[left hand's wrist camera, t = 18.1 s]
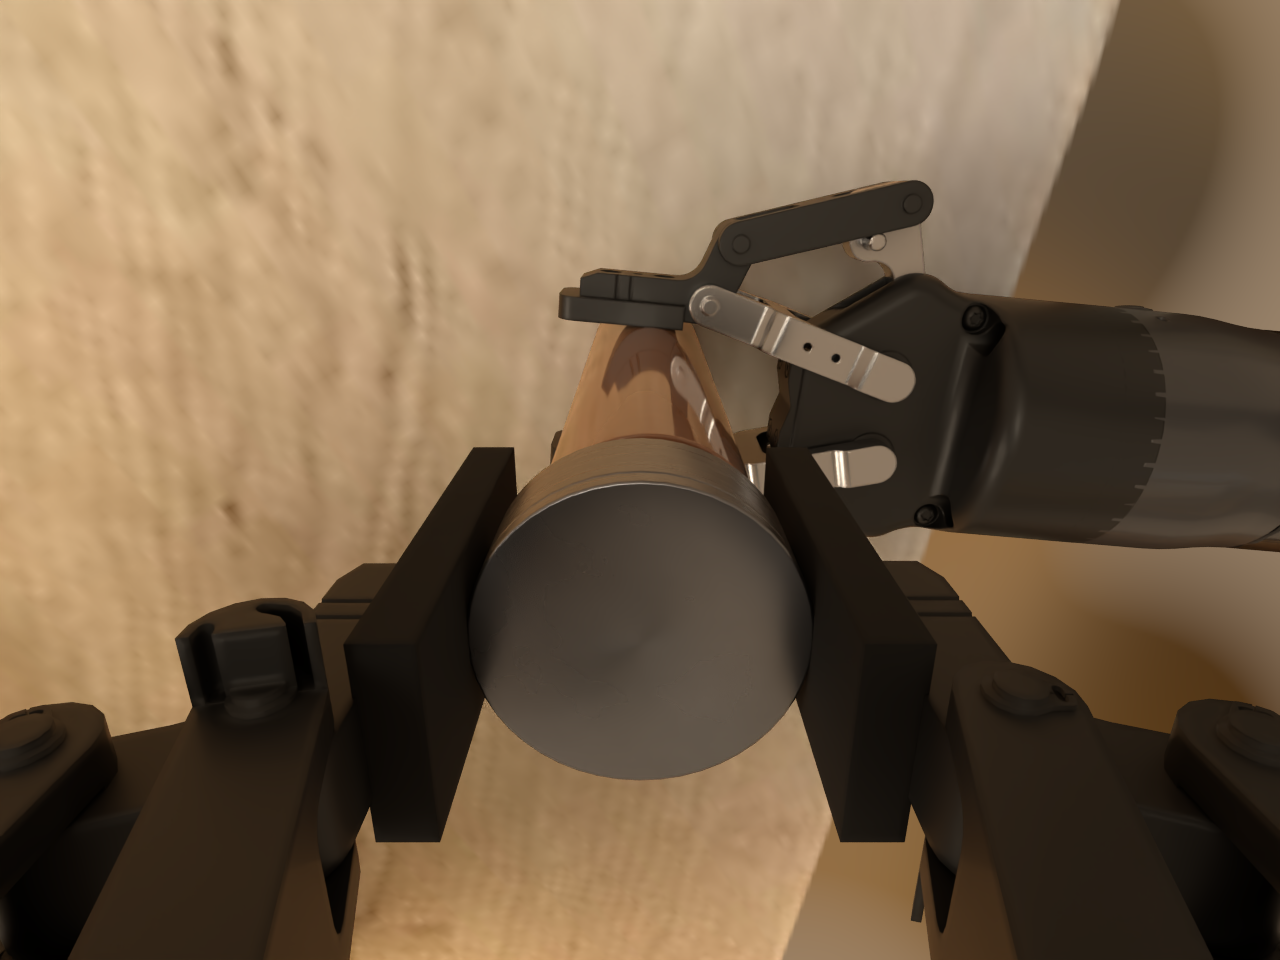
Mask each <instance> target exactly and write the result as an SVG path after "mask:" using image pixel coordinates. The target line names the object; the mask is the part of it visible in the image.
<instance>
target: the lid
mask: <svg viewBox="0 0 1280 960" xmlns="http://www.w3.org/2000/svg"><path fill="white" fill-rule="evenodd" d="M813 628H814V616H813V608H812V602H811V598H810V595H809V591H808V588H807V584H806V582H805V580H804V577H803V575H802V573H801V570H800V568H799V566H798V563H797V561H796V559H795V556H794V554H793V552H792V549H791V547H790V545H789V542H788V540H787V538H786V535H785V533H784V531H783V528H782V526H781V524H780V522H779V520H778V518H777V515H776V513H775V512H774V510H773V508H772V507H771V505H770V504H769V502H768V501H767V499H766V498H765V496H764V495H763V494H762V493H761V492H760V491H759V489H758V488H757V487H756V486H755V485H754V484H753V483H752V482H751V481H750V480H749V479H748V478H747V477H746V476H744V475H743V474H742V473H741V472H740V471H739V470H737V469H736V468H734V467H733V466H731V465H730V464H728V463H727V462H725V461H724V460H722V459H720V458H718V457H716V456H714V455H712V454H710V453H708V452H706V451H704V450H701V449H698V448H695V447H692V446H689V445H686V444H683V443H678V442H673V441H668V440H663V439H650V438H632V439H619V440H613V441H608V442H602V443H598V444H595V445H592V446H589V447H586V448H582V449H580V450H577V451H575V452H573V453H571V454H569V455H567V456H565V457H562V458H561V459H559V460H557V461H556V462H554V463H553V464H551V465H550V466H548V467H547V468H545V469H544V470H543V471H541V472H540V473H539V474H538V475H537V476H535V477H534V478H533V479H532V480H531V481H530V482H529V483H528V484H527V485H526V486H525V487H524V488H523V489H522V491H521V492H520V493H519V494H518V495H517V496H516V498H515V499H514V501H513V502H512V504H511V505H510V507H509V508H508V510H507V511H506V513H505V515H504V518H503V520H502V522H501V524H500V526H499V528H498V530H497V533H496V535H495V537H494V540H493V542H492V545H491V547H490V549H489V552H488V554H487V556H486V559H485V561H484V563H483V566H482V568H481V571H480V573H479V575H478V577H477V580H476V582H475V585H474V588H473V592H472V595H471V598H470V602H469V609H468V616H467V633H468V644H469V654H470V661H471V665H472V668H473V671H474V674H475V677H476V680H477V682H478V684H479V686H480V688H481V690H482V692H483V694H484V696H485V698H486V700H487V701H488V703H489V704H490V706H491V707H492V709H493V710H494V712H495V713H496V714H497V715H498V717H499V718H500V719H501V720H502V721H503V722H504V723H505V725H506V726H507V727H508V728H509V729H510V730H511V731H512V732H514V733H515V734H516V735H517V736H518V737H519V738H520V739H522V740H523V741H524V742H525V743H527V744H528V745H530V746H531V747H532V748H534V749H535V750H537V751H538V752H540V753H541V754H543V755H545V756H547V757H549V758H551V759H553V760H555V761H557V762H558V763H561V764H563V765H566V766H568V767H571V768H574V769H576V770H579V771H583V772H586V773H590V774H594V775H597V776H603V777H609V778H615V779H626V780H656V779H666V778H672V777H679V776H683V775H687V774H691V773H695V772H699V771H702V770H705V769H707V768H710V767H713V766H715V765H718V764H720V763H722V762H724V761H726V760H728V759H730V758H732V757H734V756H736V755H738V754H740V753H741V752H743V751H744V750H746V749H747V748H749V747H750V746H752V745H753V744H755V743H756V742H757V741H758V740H759V739H761V738H762V737H763V736H764V735H765V734H766V733H768V732H769V731H770V730H771V729H772V728H773V727H774V726H775V724H776V723H777V722H778V721H779V720H780V719H781V718H782V717H783V716H784V714H785V713H786V711H787V710H788V709H789V707H790V706H791V704H792V703H793V701H794V700H795V698H796V696H797V694H798V692H799V690H800V688H801V686H802V684H803V682H804V680H805V677H806V674H807V671H808V668H809V665H810V659H811V650H812V639H813Z"/></svg>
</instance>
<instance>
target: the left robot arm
mask: <svg viewBox="0 0 1280 960" xmlns="http://www.w3.org/2000/svg"><path fill="white" fill-rule="evenodd" d="M763 495H764V496H765V498H766V499H767V501H768V502H769V504H770V505H771V507H772V508H773V510H774V512H775V513H776V515H777V518H778V520H779V522H780V524H781V526H782V528H783V531H784V533H785V535H786V538H787V540H788V542H789V545H790V547H791V549H792V552H793V554H794V556H795V559H796V561H797V563H798V566H799V568H800V570H801V573H802V575H803V577H804V580H805V582H806V584H807V588H808V591H809V595H810V598H811V602H812V608H813V616H814V628H813V639H812V650H811V659H810V665H809V668H808V671H807V674H806V677H805V680H804V682H803V684H802V686H801V688H800V690H799V692H798V694H797V696H796V700H797V704H798V707H799V710H800V713H801V716H802V720H803V723H804V726H805V729H806V733H807V736H808V739H809V742H810V746H811V749H812V752H813V755H814V758H815V762H816V765H817V768H818V771H819V775H820V778H821V781H822V784H823V788H824V791H825V794H826V797H827V800H828V804H829V807H830V810H831V813H832V817H833V820H834V823H835V826H836V829H837V833H838V836H839V839H840V842H905V837H906V831H907V825H908V819H909V813H910V807H911V804H912V807H913V809H914V811H915V813H916V816H917V818H918V820H919V822H920V825H921V827H922V829H923V831H924V834H925V840H924V846H923V851H922V857H921V862H920V868H919V874H918V879H917V885H916V891H915V896H914V902H913V909H912V916H911V921H916V922H921V920H922V915H923V909H925V917H926V925H927V933H928V941H929V949H930V957H931V960H1280V715H1278V714H1277V713H1275V712H1273V711H1271V710H1268V709H1265V708H1262V707H1259V706H1256V707H1254V706H1252V704H1247V703H1243V702H1237V701H1225V700H1216V699H1205V700H1198V701H1191V702H1188V703H1187V704H1186V705H1184V706H1183V707H1182V708H1181V709H1179V710H1178V712H1177V715H1176V718H1175V721H1174V724H1173V728H1172V731H1171V734H1168V733H1163V732H1158V731H1153V730H1148V729H1142V728H1137V727H1132V726H1127V725H1122V724H1117V723H1112V722H1108V721H1104V720H1100V719H1096V718H1093V716H1092V714H1091V712H1090V710H1089V708H1088V706H1087V705H1086V703H1085V702H1084V701H1083V700H1082V698H1081V697H1080V696H1079V695H1078V693H1077V692H1076V691H1075V690H1073V689H1072V688H1071V687H1069V686H1068V685H1066V684H1065V683H1063V682H1062V681H1060V680H1059V679H1057V678H1056V677H1054V676H1051V675H1049V674H1047V673H1044V672H1042V671H1040V670H1037V669H1035V668H1032V667H1029V666H1024V665H1020V664H1016V663H1012V662H1011V661H1010V660H1009V659H1008V657H1007V656H1006V655H1005V654H1004V652H1003V651H1002V650H1001V649H1000V647H999V646H998V645H997V644H996V642H995V641H994V640H993V638H992V637H991V636H990V635H989V633H988V632H987V631H986V630H985V628H984V627H983V626H982V625H981V623H980V622H979V621H978V620H977V618H976V617H972V612H971V611H970V610H969V608H968V607H967V606H966V605H965V603H964V602H963V601H962V600H959V596H958V595H957V593H956V592H955V591H954V590H953V588H952V587H951V586H950V584H949V583H948V582H947V581H946V579H945V578H944V577H942V576H941V575H939V574H937V573H936V572H934V571H933V570H931V569H929V568H928V567H926V566H924V565H923V564H921V563H919V562H918V561H882V560H881V558H880V557H879V555H878V554H877V552H876V551H875V549H874V548H873V546H872V545H871V543H870V542H869V540H868V539H867V537H866V536H865V534H864V533H863V531H862V530H861V528H860V527H859V525H858V524H857V522H856V521H855V519H854V518H853V516H852V515H851V513H850V512H849V510H848V509H847V507H846V506H845V504H844V503H843V501H842V500H841V498H840V497H839V495H838V494H837V492H836V491H835V489H834V487H833V486H832V484H831V483H830V481H829V480H828V478H827V477H826V475H825V474H824V472H823V471H822V469H821V468H820V466H819V465H818V463H817V462H816V460H815V459H814V457H813V456H812V454H811V453H810V451H809V450H808V448H807V447H766V463H765V479H764V494H763ZM516 496H517V487H516V471H515V456H514V447H473V449H472V450H471V452H470V454H469V455H468V457H467V458H466V460H465V461H464V463H463V464H462V466H461V467H460V469H459V470H458V472H457V473H456V475H455V476H454V478H453V479H452V481H451V482H450V484H449V485H448V487H447V488H446V490H445V491H444V493H443V494H442V496H441V497H440V499H439V500H438V502H437V503H436V505H435V506H434V508H433V509H432V511H431V512H430V514H429V515H428V517H427V518H426V520H425V521H424V523H423V524H422V526H421V527H420V529H419V530H418V532H417V534H416V535H415V537H414V538H413V540H412V541H411V543H410V544H409V546H408V547H407V549H406V550H405V552H404V553H403V555H402V556H401V558H400V559H399V561H398V562H397V564H362V565H360V566H359V567H357V568H356V569H354V570H352V571H351V572H349V573H347V574H346V575H344V576H343V577H341V578H339V579H338V580H337V581H336V582H335V583H334V584H333V586H332V587H331V588H330V589H329V591H328V592H327V593H326V595H325V596H324V597H323V598H322V603H318V605H317V606H316V607H315V608H314V609H312V608H311V607H310V606H308V605H307V604H306V603H304V602H301V601H297V600H292V599H288V598H261V599H256V600H251V601H246V602H240V603H235V604H232V605H230V606H227V607H224V608H221V609H218V610H216V611H213V612H210V613H208V614H206V615H205V616H203V617H201V618H199V619H198V620H196V621H194V622H192V623H191V624H189V625H188V626H187V627H186V628H185V629H184V630H183V631H182V632H181V633H180V634H179V635H178V636H177V637H176V638H175V641H176V645H177V649H178V653H179V657H180V661H181V664H182V668H183V672H184V676H185V680H186V684H187V688H188V691H189V695H190V699H191V703H192V709H191V711H190V713H189V715H188V717H187V719H186V721H185V722H182V723H178V724H174V725H170V726H165V727H160V728H155V729H150V730H145V731H140V732H135V733H130V734H125V735H120V736H115V737H111V735H110V732H109V729H108V726H107V722H106V719H105V716H104V714H103V713H102V712H101V711H99V710H98V709H97V708H96V707H94V706H93V705H88V704H81V703H74V702H69V703H60V704H51V705H41V706H37V707H32V708H30V709H29V710H26V709H25V710H21V711H18V712H15V713H12V714H10V715H8V716H6V717H5V718H3V719H1V720H0V960H349V959H350V951H351V943H352V935H353V927H354V919H355V911H356V903H357V895H358V887H359V879H360V865H359V857H358V851H357V846H356V840H355V839H356V837H357V834H358V832H359V830H360V827H361V825H362V823H363V821H364V818H365V816H366V814H367V812H368V809H369V807H370V810H371V816H372V822H373V828H374V834H375V840H376V842H440V841H441V838H442V834H443V831H444V828H445V825H446V821H447V818H448V815H449V812H450V808H451V805H452V802H453V799H454V796H455V792H456V789H457V786H458V783H459V779H460V776H461V773H462V770H463V766H464V763H465V760H466V757H467V753H468V750H469V747H470V744H471V741H472V737H473V734H474V731H475V728H476V724H477V721H478V718H479V715H480V711H481V708H482V705H483V702H484V699H485V696H484V694H483V692H482V690H481V688H480V686H479V684H478V682H477V680H476V677H475V674H474V671H473V668H472V665H471V661H470V654H469V644H468V633H467V616H468V609H469V602H470V598H471V595H472V592H473V588H474V585H475V582H476V580H477V577H478V575H479V573H480V571H481V568H482V566H483V563H484V561H485V559H486V556H487V554H488V552H489V549H490V547H491V545H492V542H493V540H494V537H495V535H496V533H497V530H498V528H499V526H500V524H501V522H502V520H503V518H504V515H505V513H506V511H507V510H508V508H509V507H510V505H511V504H512V502H513V501H514V499H515V498H516Z"/></svg>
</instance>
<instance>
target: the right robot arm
mask: <svg viewBox="0 0 1280 960" xmlns="http://www.w3.org/2000/svg"><path fill="white" fill-rule="evenodd" d="M933 202H934V199H933V194H932V191H931V189H930V188H929V187H928V186H927V185H926V184H925V183H923V182H921V181H917V180H911V181H892V182H882V183H878V184H874V185H869V186H865V187H861V188H857V189H853V190H849V191H844V192H840V193H836V194H832V195H828V196H823V197H819V198H815V199H811V200H807V201H803V202H798V203H794V204H790V205H786V206H782V207H777V208H773V209H769V210H765V211H761V212H756V213H752V214H748V215H744V216H740V217H736V218H731V219H727V220H725V221H723V222H721V223H720V224H719V225H718V226H717V227H716V229H715V230H714V233H713V236H712V240H711V242H710V244H709V246H708V249H707V251H706V253H705V255H704V257H703V259H702V261H701V263H700V264H699V265H698V267H697V268H696V269H694V270H693V271H692V272H690V273H688V274H685V275H668V274H657V273H647V272H636V271H626V270H615V269H605V268H600V269H596V270H593V271H590V272H587V273H584V274H583V276H582V277H581V280H580V288H573V287H568V288H564V289H563V290H562V291H561V292H560V293H559V312H558V317H559V318H561V319H565V320H572V321H583V322H594V323H604V324H615V325H626V326H637V327H651V328H659V329H669V330H680V331H683V323H694V324H699V325H701V326H703V327H705V328H708V329H711V330H713V331H716V332H718V333H721V334H723V335H726V336H728V337H731V338H734V339H736V340H739V341H741V342H744V343H746V344H749V345H751V346H754V347H756V348H757V349H759V350H761V351H763V352H765V353H767V354H769V355H771V356H774V357H776V358H778V365H777V372H778V381H779V394H778V396H777V399H776V401H775V403H774V405H773V408H772V410H771V412H770V415H769V421H768V426H766V427H760V428H755V429H749V430H743V431H739V432H736V433H734V437H735V440H736V442H737V445H738V448H739V450H740V453H741V456H742V458H743V461H744V464H745V467H746V469H747V472H748V475H749V477H750V480H751V482H752V483H753V484H754V485H755V486H756V487H757V488H758V489H759V491H760V492H761V493H762V494H764V479H765V463H766V447H807V448H808V450H809V451H810V453H811V454H812V456H813V457H814V459H815V460H816V462H817V463H818V465H819V466H820V468H821V469H822V471H823V472H824V474H825V475H826V477H827V478H828V480H829V481H830V483H831V484H832V486H833V487H834V489H835V491H836V492H837V494H838V495H839V497H840V498H841V500H842V501H843V503H844V504H845V506H846V507H847V509H848V510H849V512H850V513H851V515H852V516H853V518H854V519H855V521H856V522H857V524H858V525H859V527H860V528H861V530H862V531H863V533H864V534H865V536H866V537H876V536H881V535H884V534H886V533H889V532H891V531H894V530H897V529H901V528H906V527H923V528H929V529H934V530H940V531H947V532H956V533H968V534H979V535H991V536H1003V537H1015V538H1027V539H1038V540H1049V541H1061V542H1073V543H1086V544H1098V545H1110V546H1122V547H1134V548H1148V549H1176V548H1190V547H1226V548H1238V549H1250V550H1261V551H1273V552H1280V331H1271V330H1260V329H1253V328H1247V327H1243V326H1238V325H1234V324H1230V323H1226V322H1222V321H1218V320H1215V319H1210V318H1206V317H1201V316H1194V315H1187V314H1179V313H1167V312H1158V311H1153V310H1152V309H1148V308H1144V307H1141V306H1130V305H1127V306H1126V305H1125V306H1115V307H1106V306H1096V305H1085V304H1074V303H1063V302H1053V301H1042V300H1032V299H1021V298H1011V297H1000V296H990V295H979V294H969V293H961V292H956V291H954V290H952V289H951V288H949V287H948V286H947V285H945V284H944V283H943V282H942V281H940V280H939V279H937V278H936V277H934V276H931V275H928V274H925V266H924V255H923V243H922V232H921V223H922V222H923V221H925V220H926V219H927V217H928V216H929V215H930V213H931V211H932V208H933ZM840 243H842V245H843V248H844V250H845V252H846V253H847V254H848V255H849V256H850V257H852V258H854V259H857V260H860V261H864V262H877V263H879V264H880V266H881V267H882V268H883V270H884V274H885V276H884V277H883V278H881V279H879V280H877V281H876V282H874V283H872V284H870V285H869V286H867V287H865V288H863V289H862V290H860V291H858V292H856V293H855V294H853V295H851V296H849V297H848V298H846V299H844V300H842V301H841V302H839V303H837V304H835V305H834V306H832V307H830V308H828V309H827V310H825V311H823V312H821V313H820V314H818V315H816V316H814V317H810V316H808V315H805V314H803V313H800V312H798V311H795V310H793V309H790V308H788V307H785V306H783V305H780V304H778V303H775V302H773V301H770V300H768V299H765V298H761V297H758V296H755V295H753V294H750V293H748V292H745V291H743V290H740V289H739V287H740V286H741V284H742V282H743V280H744V278H745V276H746V274H747V272H748V270H749V268H750V266H751V264H754V263H759V262H763V261H767V260H771V259H776V258H780V257H784V256H789V255H793V254H797V253H801V252H806V251H810V250H814V249H819V248H823V247H827V246H832V245H836V244H840ZM562 431H563V430H561V431H558V432H556V433H555V436H554V439H553V441H552V444H551V460H550V465H551V463H552V460H553V457H554V454H555V451H556V448H557V446H558V443H559V440H560V437H561V434H562ZM769 444H770V446H768V445H769Z"/></svg>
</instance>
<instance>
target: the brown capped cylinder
mask: <svg viewBox="0 0 1280 960" xmlns="http://www.w3.org/2000/svg"><path fill="white" fill-rule="evenodd" d="M632 438H650V439H663V440H668V441H673V442H678V443H683V444H686V445H689V446H692V447H695V448H698V449H701V450H704V451H706V452H708V453H710V454H712V455H714V456H716V457H718V458H720V459H722V460H724V461H725V462H727V463H728V464H730V465H731V466H733V467H734V468H736V469H737V470H739V471H740V472H741V473H742V474H743V475H744V476H746V477H747V478H748V479H749V480H750V477H749V475H748V472H747V469H746V467H745V464H744V461H743V458H742V456H741V453H740V450H739V448H738V445H737V442H736V440H735V437H734V434H733V432H732V429H731V426H730V424H729V421H728V418H727V416H726V413H725V410H724V408H723V405H722V402H721V399H720V397H719V394H718V391H717V389H716V386H715V383H714V381H713V378H712V375H711V373H710V370H709V367H708V365H707V362H706V359H705V357H704V354H703V351H702V348H701V346H700V343H699V340H698V338H697V335H696V332H695V330H694V327H693V325H692V323H683V331H680V330H669V329H659V328H651V327H637V326H626V325H615V324H604V323H600V325H599V327H598V330H597V332H596V335H595V338H594V341H593V344H592V347H591V350H590V353H589V356H588V359H587V361H586V364H585V367H584V370H583V373H582V376H581V379H580V382H579V385H578V388H577V390H576V393H575V396H574V399H573V402H572V405H571V408H570V411H569V414H568V417H567V419H566V422H565V425H564V428H563V431H562V434H561V437H560V440H559V443H558V446H557V448H556V451H555V454H554V457H553V460H552V463H551V464H553V463H554V462H556V461H557V460H559V459H561V458H562V457H565V456H567V455H569V454H571V453H573V452H575V451H577V450H580V449H582V448H586V447H589V446H592V445H595V444H598V443H602V442H608V441H613V440H619V439H632ZM750 481H751V480H750Z"/></svg>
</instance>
